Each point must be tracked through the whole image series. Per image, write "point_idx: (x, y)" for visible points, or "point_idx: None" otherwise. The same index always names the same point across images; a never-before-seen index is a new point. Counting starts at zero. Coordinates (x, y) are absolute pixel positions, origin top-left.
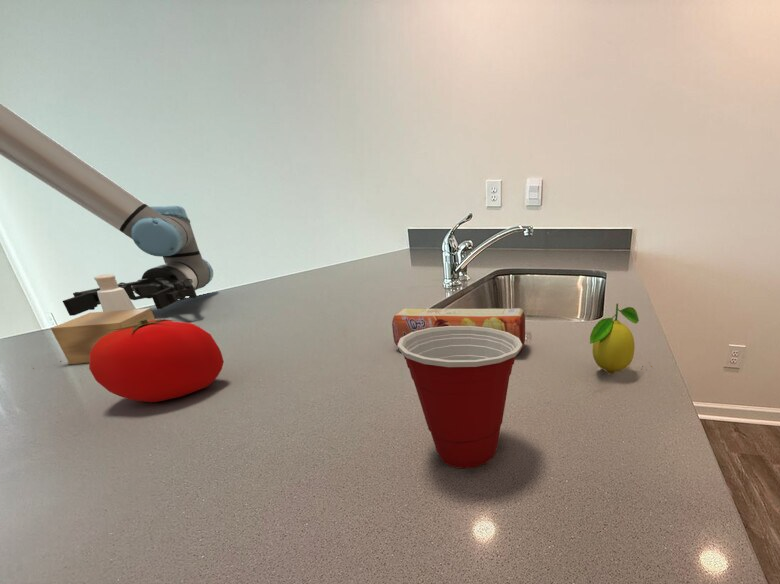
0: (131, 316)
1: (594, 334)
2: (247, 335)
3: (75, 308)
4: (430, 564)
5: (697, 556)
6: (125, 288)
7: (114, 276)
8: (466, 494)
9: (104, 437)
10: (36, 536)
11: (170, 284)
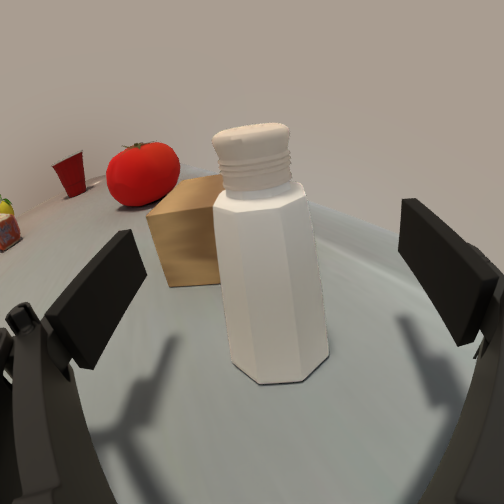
0: (172, 191)
1: (9, 202)
2: (58, 284)
3: (406, 240)
4: None
5: None
6: (451, 494)
7: (212, 141)
8: (91, 186)
9: (180, 181)
10: (184, 167)
11: (25, 433)
